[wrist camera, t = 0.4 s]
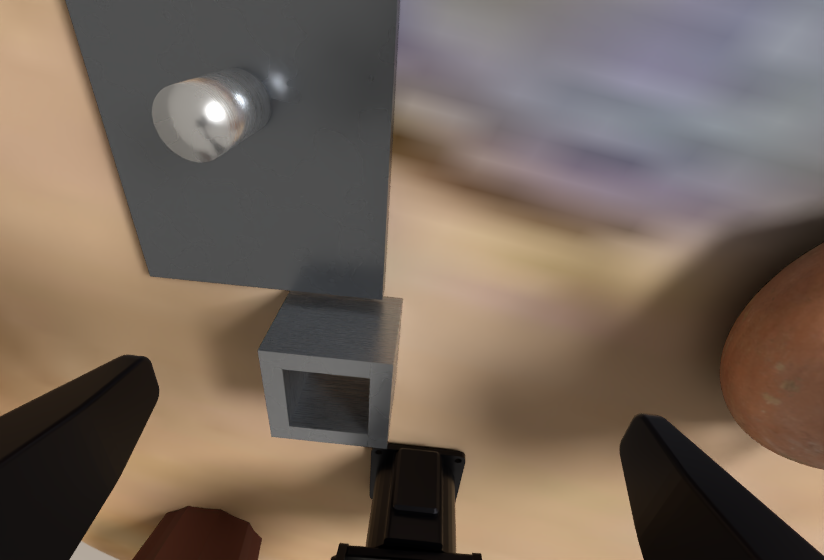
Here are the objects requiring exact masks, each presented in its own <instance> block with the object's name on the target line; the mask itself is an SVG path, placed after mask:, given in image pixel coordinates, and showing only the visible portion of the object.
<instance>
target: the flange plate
mask: <svg viewBox="0 0 824 560" xmlns="http://www.w3.org/2000/svg"><path fill="white" fill-rule="evenodd" d="M65 1H66V4H67V7H68V11H69V14H70V17H71V20H72V24H73V27H74V30H75V33H76V37H77V40H78V43H79V46H80V50H81V53H82V56H83V59H84V63H85V66H86V69H87V72H88V76H89V79H90V82H91V85H92V89H93V92H94V95H95V98H96V102H97V105H98V108H99V111H100V115H101V118H102V121H103V124H104V128H105V131H106V134H107V137H108V141H109V144H110V147H111V150H112V154H113V157H114V160H115V163H116V167H117V170H118V173H119V176H120V180H121V183H122V186H123V189H124V193H125V196H126V199H127V202H128V206H129V209H130V212H131V215H132V219H133V222H134V225H135V228H136V232H137V235H138V238H139V241H140V245H141V248H142V251H143V254H144V258H145V261H146V264H147V267H148V271H149V274H150V276H153V277H162V278H172V279H182V280H192V281H201V282H211V283H221V284H231V285H240V286H250V287H260V288H270V289H279V290H289V291H299V292H309V293H318V294H328V295H338V296H348V297H357V298H367V299H377V300H382V299H383V294H384V290H385V272H386V254H387V235H388V216H389V198H390V179H391V160H392V142H393V123H394V104H395V86H396V67H397V48H398V30H399V11H400V0H65Z"/></svg>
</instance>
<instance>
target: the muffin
mask: <svg viewBox="0 0 824 560" xmlns="http://www.w3.org/2000/svg"><path fill="white" fill-rule="evenodd" d="M261 540H262V538H261V537H260V536H259V535H258V534H257V533H256V532H255V531H254V530H253V528H252V527H251V525H250V523H249V522H246V521H244V520H241V519H239V518H236V517H234V516H232V515H230V514H228V513H226V512H224V511H222V510H218V509H204V508H198V507H192V506H187V507H185V508H183V509H180V510H178V511H174V512H169V513H167V514H166V515H165V516H164V518H163V519H162V520H161V522H160V523H159V524H158V526H157V527H156V528H155V530H154V531H153V532H152V534H151V535H150V536H149V538H148V539H147V541H146V542H145V543H144V545H143V546H142V547H141V549H140V550H139V551H138V553H137V554H136V555H135V557H134V558H133V559H132V560H258V555H259V550H260V545H261Z"/></svg>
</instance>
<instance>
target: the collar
mask: <svg viewBox="0 0 824 560" xmlns="http://www.w3.org/2000/svg"><path fill="white" fill-rule="evenodd" d="M402 301H403V299H402V298H392V297H383V299H382V300H377V299H367V298H357V297H348V296H338V295H328V294H318V293H309V292H299V291H290V292H289V294H288V295H287V297H286V299H285V301H284V303H283V305H282V306H281V308H280V310H279V312H278V314H277V316H276V318H275V319H274V321H273V323H272V325H271V327H270V329H269V330H268V332H267V334H266V336H265V338H264V340H263V342H262V343H261V345H260V347H259V349H258V356H259V362H260V368H261V374H262V381H263V387H264V393H265V399H266V406H267V412H268V418H269V424H270V430H271V437H279V438H288V439H298V440H307V441H316V442H326V443H335V444H345V445H354V446H363V447H373V448H382V449H387V444H388V436H389V429H390V421H391V413H392V406H393V398H394V390H395V383H396V373H397V361H398V349H399V337H400V325H401V313H402Z"/></svg>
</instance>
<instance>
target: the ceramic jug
mask: <svg viewBox="0 0 824 560" xmlns="http://www.w3.org/2000/svg"><path fill="white" fill-rule="evenodd" d="M720 383H721V389H722V392H723V396H724V399H725V402H726V404H727V407H728V409H729V411H730V413H731V414H732V416H733V418H734V419H735V421H736V422H737V423H738V425H739V426H740V427H741V428H742V429H743V430H744V431H745V432H746V433H747V434H748V435H749V436H751V437H752V438H753V439H754V440H755V441H757V442H758V443H760V444H761V445H762V446H764V447H765V448H767V449H769V450H771V451H772V452H774V453H776V454H778V455H780V456H782V457H785V458H787V459H790V460H793V461H795V462H798V463H800V464H804V465H807V466H810V467H814V468H818V469H823V470H824V243H822V244H820V245H818V246H817V247H815V248H813V249H812V250H810V251H808V252H807V253H805V254H804V255H802V256H801V257H799V258H798V259H796V260H795V261H793V262H792V263H791V264H789V265H788V266H786V267H785V268H784V269H783V270H782V271H780V272H779V273H778V274H777V275H776V276H775V277H774V278H773V279H771V280H770V281H769V282H768V283H767V284H766V285H765V286H764V287H763V288H762V289H761V290H760V291H759V292H758V293H757V294H756V295H755V296H754V297H753V298H752V300H751V301H750V302H749V303H748V304H747V306H746V307H745V308H744V310H743V311H742V312H741V314H740V315H739V317H738V318H737V319H736V321H735V323H734V325H733V327H732V328H731V330H730V332H729V335H728V337H727V340H726V342H725V345H724V348H723V352H722V356H721V362H720Z"/></svg>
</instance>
